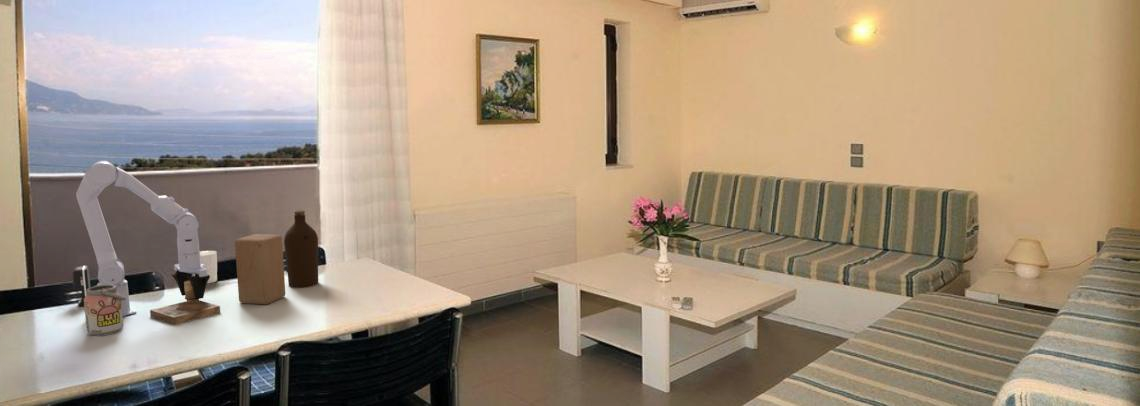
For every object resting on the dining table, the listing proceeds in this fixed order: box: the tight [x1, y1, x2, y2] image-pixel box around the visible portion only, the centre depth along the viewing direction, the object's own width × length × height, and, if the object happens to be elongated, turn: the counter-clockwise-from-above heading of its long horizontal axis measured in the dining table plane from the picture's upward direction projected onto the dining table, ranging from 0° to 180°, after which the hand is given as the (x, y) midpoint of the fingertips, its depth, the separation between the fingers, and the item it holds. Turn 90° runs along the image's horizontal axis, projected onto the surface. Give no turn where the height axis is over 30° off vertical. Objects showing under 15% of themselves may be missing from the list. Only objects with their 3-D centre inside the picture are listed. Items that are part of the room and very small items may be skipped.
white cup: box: [192, 250, 218, 284], centre depth 234 cm, size 8×8×10 cm
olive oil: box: [283, 209, 319, 288], centre depth 230 cm, size 11×11×25 cm
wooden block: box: [234, 233, 286, 305], centre depth 211 cm, size 10×10×20 cm
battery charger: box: [72, 265, 91, 307], centre depth 208 cm, size 7×4×11 cm, turn 32°
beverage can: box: [84, 285, 126, 337], centre depth 183 cm, size 9×8×12 cm
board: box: [149, 299, 221, 325], centre depth 198 cm, size 13×13×2 cm
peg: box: [184, 281, 200, 301], centre depth 208 cm, size 4×4×7 cm
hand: (192, 296), depth 208 cm, fingers open, 7 cm apart
